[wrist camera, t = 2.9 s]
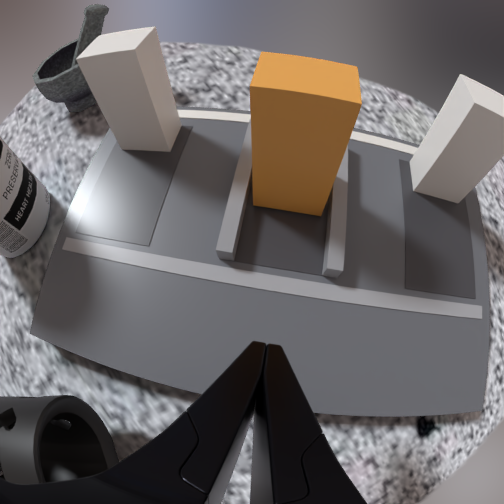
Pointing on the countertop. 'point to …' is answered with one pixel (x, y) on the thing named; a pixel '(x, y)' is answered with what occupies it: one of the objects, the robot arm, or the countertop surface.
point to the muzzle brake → (52, 440)
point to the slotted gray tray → (275, 250)
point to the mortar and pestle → (71, 66)
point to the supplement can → (20, 205)
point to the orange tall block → (300, 129)
